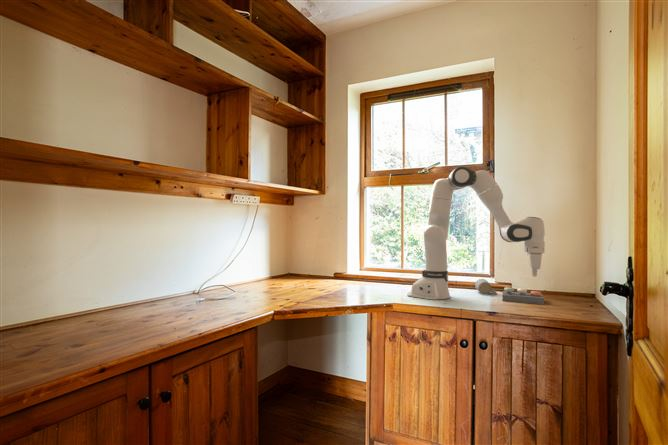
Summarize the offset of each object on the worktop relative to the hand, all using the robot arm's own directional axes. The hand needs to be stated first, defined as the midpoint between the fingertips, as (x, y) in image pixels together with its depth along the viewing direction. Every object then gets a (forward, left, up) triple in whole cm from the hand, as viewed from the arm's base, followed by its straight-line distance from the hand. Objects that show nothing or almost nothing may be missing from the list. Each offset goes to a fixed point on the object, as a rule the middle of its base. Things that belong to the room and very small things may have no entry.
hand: (534, 276), depth 172 cm
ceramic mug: (-23, +12, -13) cm, 29 cm away
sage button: (-12, 0, -11) cm, 16 cm away
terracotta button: (0, 0, -12) cm, 12 cm away
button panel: (-6, 0, -13) cm, 14 cm away
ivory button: (-6, 0, -11) cm, 12 cm away
